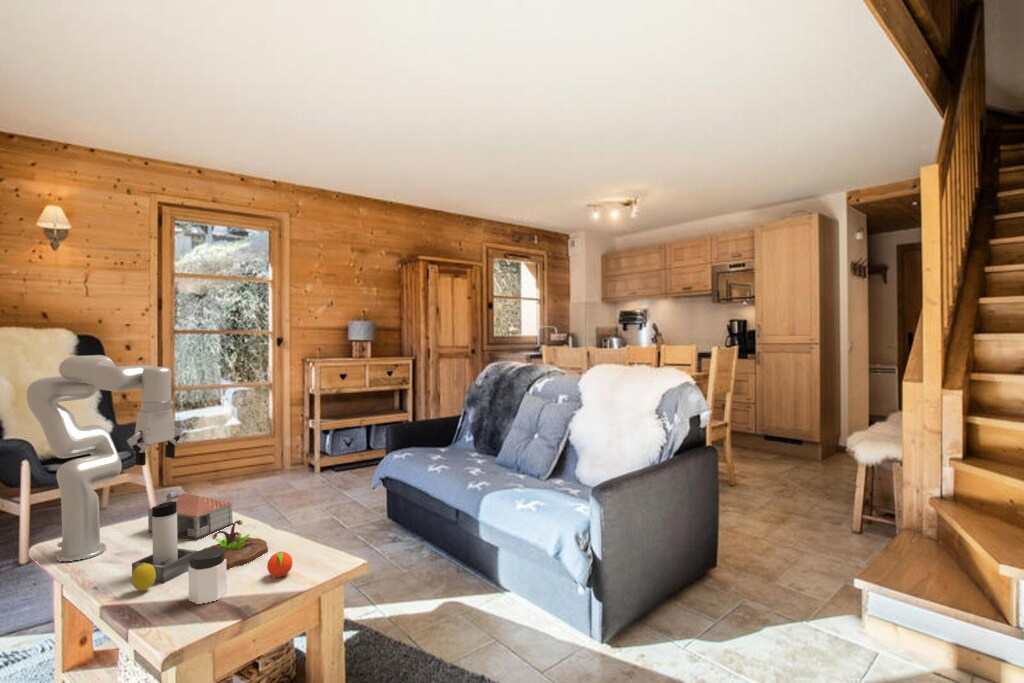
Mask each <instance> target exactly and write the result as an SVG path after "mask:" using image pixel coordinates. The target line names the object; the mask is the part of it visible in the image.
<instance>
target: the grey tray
mask: <svg viewBox="0 0 1024 683" xmlns="http://www.w3.org/2000/svg"><path fill="white" fill-rule="evenodd" d="M197 551H198V550H193V549H185V548H179V547H178V560H176V561H174V562H171V563H169V564H167V565H165V566H160V565H153V553H152V554H150V555H148V556H146V557H142V558H141V559H139V560H137V561H134V562H132V563H131V575H132V574H133V572H134V570H135V569H136V568H137V567H138V566H139V565H141V564H142V563H147V564H151V565H152V566H153V567H154V568H155V572H156V578H155V581H154V583H158V582H160V583H159V584H165V582H166V583H167V581H168V582H169V581H171V580H173V579H175V578H177V577H179V576H180V575H183V574H185V573H187V572H189V571H188V567H189V566H190V556H191V555H192V554H193V553H195V552H197Z"/></svg>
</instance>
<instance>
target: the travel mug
mask: <svg viewBox="0 0 1024 683" xmlns="http://www.w3.org/2000/svg"><path fill="white" fill-rule="evenodd" d="M162 503H163V504H162ZM162 503H159V504H158V505H159V506H157V505H155V506H156V507H155V506H154V505H153V507H151V508H152V534H151V536H152V554H153V565H160V566H165V565H167V564H169V563H171V562H174V561H176V560H178V548H179V547H178V538H177V510H176V509H177V502H167V503H164V502H162Z"/></svg>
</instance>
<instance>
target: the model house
mask: <svg viewBox="0 0 1024 683" xmlns="http://www.w3.org/2000/svg"><path fill="white" fill-rule="evenodd" d="M165 498H166V500H165V501H164V502H161V504H163V503H167V502H177V509H176V510H177V539H180V540H181V539H182V540H187V539H188V540H189V541H193V540H195V541H194V542H198V541H200V540H202V538H203V539H205V538H207V537H206V536H208V535H210V534H212V535H214V534H213V533H215V532H217V531H220V530H222V529H224V528H226V527H229V526H231V525H233V524H234V522H233V521H234V520H233V505H234V503H233V502H229V501H225V500H222V499H220V500H219V499H216V498H215V499H214V498H212V497H211V498H210V497H205V496H201V495H193V494H186V493H182V494H179V493H178V492H177V491H176V490H174V491H171V492H169V493H167V495H166V496H165ZM156 506H159V504H158V505H155V507H156ZM147 522H148V530H147V533H148V532H149V533H148V534H150V533H152V507H151V508H149V509H147ZM231 527H232V526H231ZM229 528H230V527H229ZM226 529H227V528H226ZM224 530H225V529H224ZM222 531H223V530H222ZM215 534H216V533H215ZM210 536H211V535H210ZM204 537H205V538H204ZM208 537H209V536H208ZM199 539H200V540H199ZM197 540H198V541H197Z"/></svg>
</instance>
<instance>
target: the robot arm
mask: <svg viewBox="0 0 1024 683" xmlns="http://www.w3.org/2000/svg"><path fill="white" fill-rule="evenodd" d="M58 373H59V374H60V376H50V377H44V378H38V379H37V380H35V381H33V382H31V383H30V385H29V386H28V387H27V390H26V395H25V396H26V402H27V406H28V408H29V410H30V411H31V413H32V414H33V416H34V417H35V418H36V419H37V421H38V422H39V424H40V426H41V427H42V428H41V429H42V431H43V433H44V436H45V439H46V440H47V442H48V445H49V447H50V450H51V452H52V453H53V455H54V456H55V457H57V458H59V459H68V458H74V457H79V456H84V455H87V456H84V457H80V458H74V459H71V460H69V461H66V462H65V463H63V464H62V465H60V466H59V468H57V470H56V481H57V485H58V489H59V493H60V501H61V502H60V504H61V505H60V506H61V536H62V537H61V538H62V539H61V540H62V541H61V542H58V543H57V546H56V547H58V548H61V551H60V552H59V553H57V554H56V557H55V559H56V558H57V559H58V560H61V561H70V560H79V561H81V560H80V559H83V560H86V558H87V559H90V557H91V558H94V557H96V556H98V555H100V554H102V553H104V552H105V551H106V549H107V545H106V543H102V542H101V526H100V524H101V522H100V499H99V498H100V497H99V495H98V494H97V492H96V491H95V490H94V489H93V488H92V486H93V485H95V484H100V483H103V482H107V481H110V480H114V479H116V478H117V477H118V476H120V474H121V472H122V469H123V468H122V467H123V466H122V460H121V456H120V455H119V452H118V451H117V448H116V446H115V443H114V441H113V439H112V436H111V434H110V432H109V431H108V430H107V429H106V428H105V427H103V426H101V425H97V424H92V425H91V424H90V425H84V426H80V425H79V424H78V422H77V420H76V418H75V415H74V414H73V413H72V412H71V411H70V410H69V409H68V408H66V407H65V406H64V405H63V406H62V405H61V404H60V402H61V403H62V402H68V401H69V402H70V401H79V400H85V399H89V398H92V397H93V396H94V395H95V394H96V393H97V392H98V391H99V390H103V391H111V392H123V391H133V390H141V411H139V412H138V414H137V419H136V423H135V430H134V434H133V435H132V436H131V437H129V438H127V440H126V442H127V444H128V447H129V448H130V449H131V450H132V451H133V453H135V465H136V466H141V467H142V466H145V465H146V464H147V463H146V462H147V461H146V460H147V456H146V455H147V453H146V449H147V448H148V446H151V445H157V444H161V443H166V444H165V449H164V450H165V454H164V455H165V456H164V457H165V458H169V459H174V458H175V457H176V446H177V445H178V441H179V440H180V439H181V435H182V433H183V429H181V428H179V427H176V424H175V417H174V412H173V409H172V405H173V406H174V402H173V400H172V370H171V369H170V368H169V367H168V366H154V365H151V364H136V365H119V366H116V364H115V362H114V361H113V360H112V359H111V358H110V357H109V356H107V355H103V354H94V355H93V354H92V355H75V356H69V357H67V358H65V359H64V360H63V361H62V362H60V364H59V366H58ZM88 454H90V455H88ZM93 556H94V557H93Z"/></svg>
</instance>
